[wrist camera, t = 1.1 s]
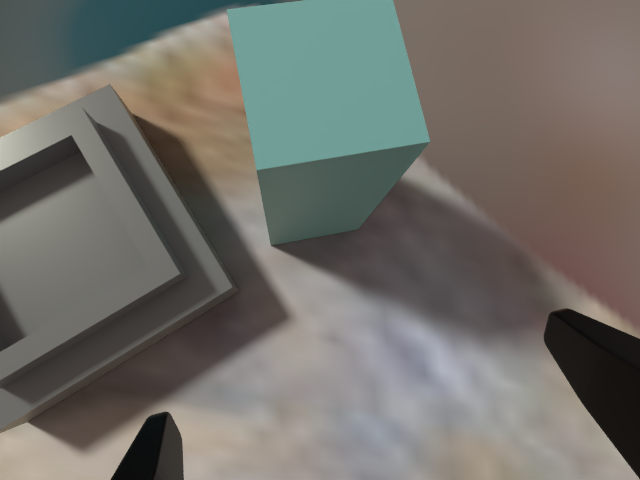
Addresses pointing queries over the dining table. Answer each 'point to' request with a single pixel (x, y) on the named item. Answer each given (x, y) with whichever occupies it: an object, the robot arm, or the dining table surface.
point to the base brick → (91, 253)
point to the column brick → (326, 110)
